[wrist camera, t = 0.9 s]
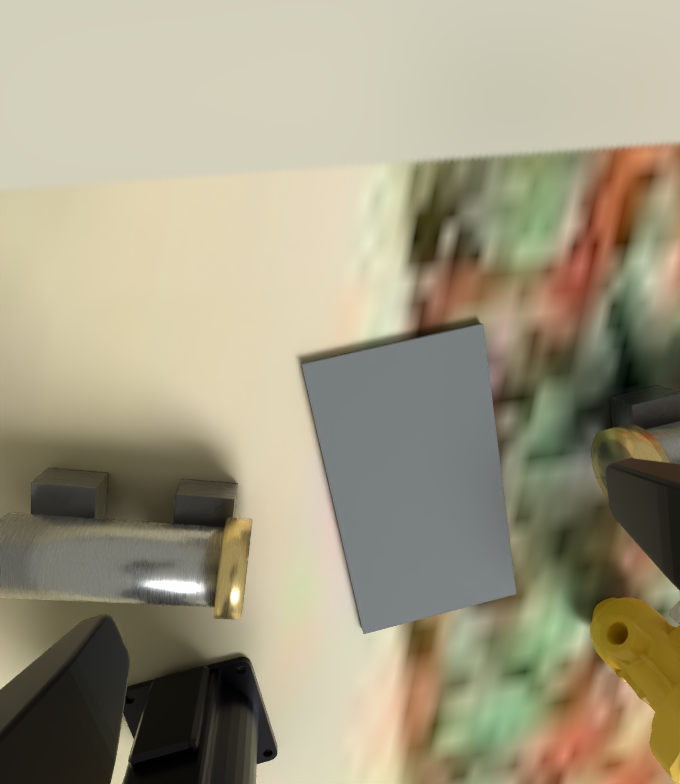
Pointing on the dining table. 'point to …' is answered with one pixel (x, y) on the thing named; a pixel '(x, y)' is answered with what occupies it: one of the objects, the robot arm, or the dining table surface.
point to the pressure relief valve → (645, 666)
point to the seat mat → (415, 474)
